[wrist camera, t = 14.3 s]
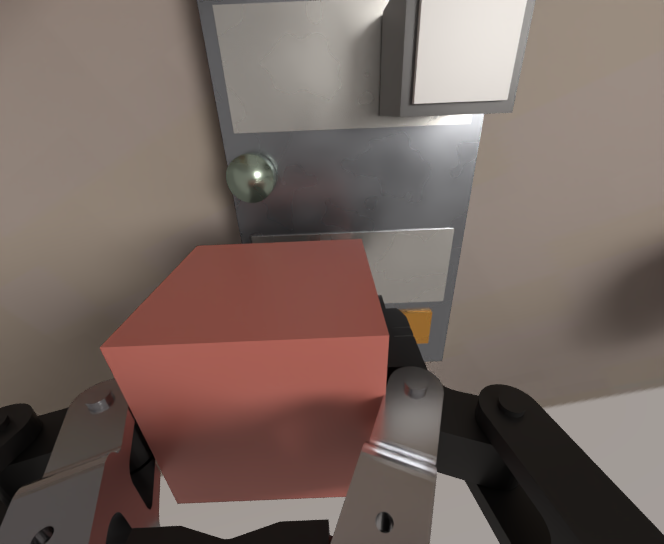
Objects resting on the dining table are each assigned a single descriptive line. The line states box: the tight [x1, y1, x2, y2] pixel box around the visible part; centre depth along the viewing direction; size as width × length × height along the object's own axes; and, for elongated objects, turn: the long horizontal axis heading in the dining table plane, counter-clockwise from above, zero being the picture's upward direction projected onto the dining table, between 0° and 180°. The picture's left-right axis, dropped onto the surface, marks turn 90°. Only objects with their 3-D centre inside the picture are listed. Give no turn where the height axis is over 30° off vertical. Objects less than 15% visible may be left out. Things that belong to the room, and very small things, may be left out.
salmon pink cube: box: [100, 239, 389, 504], centre depth 9 cm, size 6×6×5 cm
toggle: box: [380, 0, 535, 117], centre depth 9 cm, size 3×3×4 cm
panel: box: [197, 0, 484, 362], centre depth 14 cm, size 10×18×3 cm, turn 2°
